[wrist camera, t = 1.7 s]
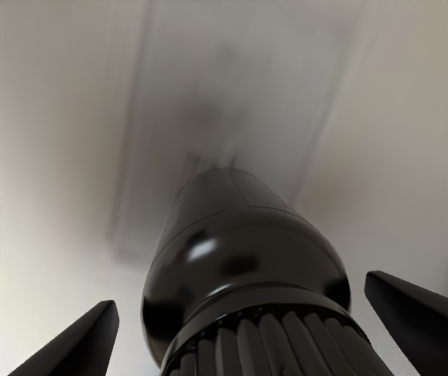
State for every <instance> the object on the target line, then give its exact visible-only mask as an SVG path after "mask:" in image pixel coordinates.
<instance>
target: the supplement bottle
mask: <svg viewBox="0 0 448 376" xmlns="http://www.w3.org/2000/svg"><path fill="white" fill-rule="evenodd" d="M351 303H352V302H351V290H350V284H349V280H348V276H347V273H346V270H345V267H344V264H343V262H342V260H341V258H340V257H339V255H338V253H337V252H336V250H335V249H334V247H333V246H332V245H331V244H330V243H329V241H328V240H327V239H326V238H325V237H324V236H323V235H322V234H321V233H320V232H319V231H318V230H317V229H316V228H314V227H313V226H312V225H311V224H310V223H309V222H308V221H307V220H305V219H304V218H303V217H302V216H301V215H300V214H298V213H297V212H296V211H295V210H294V209H293V208H291V207H290V206H289V205H288V204H287V203H286V202H284V201H283V200H282V199H281V198H280V197H279V196H277V195H276V194H275V193H274V192H273V191H272V190H270V189H269V188H268V187H267V186H266V185H265V184H263V183H262V182H261V181H260V180H258V179H257V178H256V177H254V176H253V175H251V174H249V173H247V172H245V171H242V170H239V169H235V168H216V169H211V170H208V171H205V172H203V173H201V174H199V175H197V176H195V177H194V178H193V179H191V180H190V181H189V182H188V183H187V184H186V185H185V186H184V187H183V189H182V190H181V191H180V193H179V195H178V196H177V198H176V201H175V203H174V205H173V208H172V210H171V213H170V216H169V219H168V221H167V224H166V227H165V229H164V232H163V235H162V237H161V240H160V243H159V245H158V248H157V251H156V254H155V256H154V259H153V262H152V264H151V267H150V270H149V273H148V276H147V279H146V282H145V286H144V289H143V294H142V299H141V309H140V317H141V326H142V332H143V336H144V340H145V343H146V346H147V348H148V351H149V353H150V355H151V357H152V359H153V361H154V362H155V364H156V365H157V367H158V368H159V370H160V374H159V376H394V375H393V374H392V372H391V371H390V370H389V368H388V367H387V366H386V365H385V363H384V362H383V361H382V360H381V358H380V357H379V356H378V354H377V353H376V352H375V351H374V349H373V348H372V345H371V343H370V341H369V339H368V337H367V336H366V334H365V333H364V332H363V330H362V329H361V328H360V326H359V325H358V324H357V323H356V322H355V320H354V319H353V318H352V317H351Z"/></svg>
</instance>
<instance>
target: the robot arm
mask: <svg viewBox="0 0 448 376" xmlns="http://www.w3.org/2000/svg"><path fill="white" fill-rule="evenodd" d="M364 292H365V296H366V298H367V299H368V301H369V302H370V304H371V306H372V307H373V309H374V310H375V312H376V313H377V315H378V316H379V318H380V320H381V321H382V323H383V324H384V326H385V327H386V329H387V330H388V332H389V333H390V335H391V336H392V338H393V339H394V341H395V342H396V344H397V345H398V346H399V348H400V349H401V350H402V352H403V353H404V354H405V356H406V357H407V358H408V360H409V361H410V362H411V364H412V365H413V366H414V368H415V369H416V370H417V372H418V373H419V374H420V375H421V376H448V298H447V297H444V296H442V295H439V294H437V293H434V292H432V291H429V290H427V289H424V288H422V287H419V286H417V285H414V284H412V283H409V282H407V281H405V280H402V279H400V278H397V277H395V276H392V275H390V274H387V273H385V272H382V271H369V272H368V273H367V274H366V281H365V288H364ZM118 328H119V316H118V311H117V307H116V303H115V301H114V300H107V301H101V302H99V303H98V304H97V305H96V306H94V307H93V308H92V309H90V310H89V311H88V312H87V313H85V314H84V315H83V316H82V317H80V318H79V319H78V320H77V321H75V322H74V323H73V324H72V325H70V326H69V327H68V328H67V329H65V330H64V331H63V332H62V333H60V334H59V335H58V336H57V337H55V338H54V339H53V340H51V341H50V342H49V343H48V344H46V345H45V346H44V347H43V348H41V349H40V350H39V351H38V352H36V353H35V354H34V355H33V356H31V357H30V358H29V359H28V360H26V361H25V362H24V363H23V364H21V365H20V366H19V367H17V368H16V369H15V370H14V371H12V372H11V373H10V374H9V375H7V376H105V375H106V372H107V368H108V365H109V361H110V357H111V354H112V350H113V346H114V343H115V339H116V335H117V332H118Z"/></svg>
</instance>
